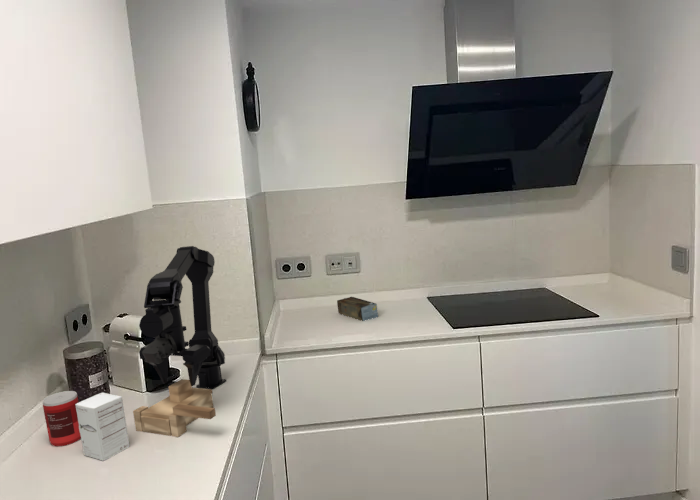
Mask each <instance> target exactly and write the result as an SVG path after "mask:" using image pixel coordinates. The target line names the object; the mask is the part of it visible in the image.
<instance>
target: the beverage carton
mask: <svg viewBox="0 0 700 500" xmlns="http://www.w3.org/2000/svg"><path fill="white" fill-rule="evenodd" d="M336 305H337V312H338V314H339V313H340V314H339V315H342V314H343V316H345V315H346V317H348V316H349V318H351V317H352V319H354V318H355V319H354V320H357V319H358V320H357V321H361V320H362V321H361V322H366V321H369V320H372V318H373V319H376V317H377V318H378V317H379V312H378V304H377V303H375V302H372V301H368V300H365V299H362V298H359V297H354V296H349V297H344V298H342V299H338V300H336ZM368 319H369V320H368ZM365 320H366V321H365Z"/></svg>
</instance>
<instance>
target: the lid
mask: <svg viewBox="0 0 700 500" xmlns="http://www.w3.org/2000/svg"><path fill="white" fill-rule="evenodd" d="M168 391H169V392H168V393H169V396H167V397H165V398H164V399H161V400H160V401H158V402H156V403H155V404H153V405H151V406H150V407H149V406H148V408H147V409H146V410H144V411H142V412H141V415H142V416H146V417H154V418H161V419H169V415H171V414H172V413H173V408H172V407H174V406H176V405H178V404H183V405H191V406H192V405H194V404H196V403H197V402H199V401H201V400H202V399H204V398H205V397H207V396H209V395H210V394H212V395H213V389H208V388H198V387H193V386H191V384H190V380H189V379H184V378H183V379H182V378H181V379H180V380H177V381H176V382H174V383H172V384H170V385H169V386H168Z"/></svg>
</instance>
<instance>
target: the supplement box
mask: <svg viewBox="0 0 700 500" xmlns="http://www.w3.org/2000/svg"><path fill="white" fill-rule="evenodd" d="M123 400H124V399H123V396H122V395H117V394H113V393H112V394H111V393H107V392H100V393H97V394H95V395H93V396H90V397H88V398H86V399H83V400H81V401H79V403H77V404H75V405H76V411H77V417H78V423H79V429H80V435H81V439H80V440H81V445H82V453H83V455H84V456H87V457H90V458H93V459H97V460H100V461H102V462H104V461H106V460H108V459H111V458H112V457H114V456H115V455H117V454H119V453H121V452H123V451H124V450H126V449H128V448H130V439H129V433H128V426H127V421H126V414H125V406H124V402H123Z"/></svg>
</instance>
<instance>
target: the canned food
mask: <svg viewBox="0 0 700 500" xmlns="http://www.w3.org/2000/svg"><path fill="white" fill-rule="evenodd" d="M79 402H80V401H79V397H78V393H77V392H76V391H75V390H65V391H60V392H55V393H53V394H50V395H48V396H46V397H45V398H44V399H42V408H43V415H44V419H45V424H46V429H47V435H48V441H49V443H50V445H51V446H53V447H65V446H69V445H71V444H74V443H76V442H78V441H79V440H81V435H80V429H79V423H78V417H77V411H76V405H75V404H77V403H79Z"/></svg>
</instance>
